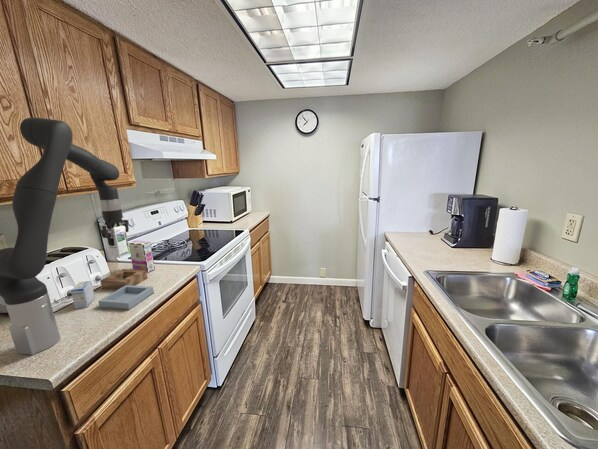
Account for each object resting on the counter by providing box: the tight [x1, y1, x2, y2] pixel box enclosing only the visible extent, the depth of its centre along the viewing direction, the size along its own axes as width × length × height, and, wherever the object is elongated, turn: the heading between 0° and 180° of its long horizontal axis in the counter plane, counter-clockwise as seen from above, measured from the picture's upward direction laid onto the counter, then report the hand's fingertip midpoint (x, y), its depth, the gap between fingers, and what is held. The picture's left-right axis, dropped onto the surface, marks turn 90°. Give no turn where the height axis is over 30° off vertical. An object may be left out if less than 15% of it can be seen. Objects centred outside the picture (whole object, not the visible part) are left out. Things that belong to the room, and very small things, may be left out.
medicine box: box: [70, 280, 96, 310], centre depth 107 cm, size 8×4×9 cm, turn 21°
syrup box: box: [105, 225, 131, 259], centre depth 120 cm, size 6×6×14 cm
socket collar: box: [99, 268, 149, 291], centre depth 125 cm, size 13×13×4 cm
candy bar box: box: [128, 240, 156, 274], centre depth 139 cm, size 11×5×16 cm, turn 71°
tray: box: [97, 285, 155, 311], centre depth 110 cm, size 14×14×3 cm
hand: (118, 243), depth 121 cm, fingers closed on syrup box, 5 cm apart
